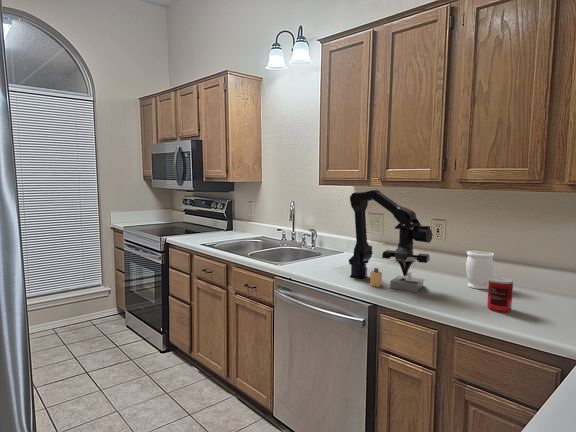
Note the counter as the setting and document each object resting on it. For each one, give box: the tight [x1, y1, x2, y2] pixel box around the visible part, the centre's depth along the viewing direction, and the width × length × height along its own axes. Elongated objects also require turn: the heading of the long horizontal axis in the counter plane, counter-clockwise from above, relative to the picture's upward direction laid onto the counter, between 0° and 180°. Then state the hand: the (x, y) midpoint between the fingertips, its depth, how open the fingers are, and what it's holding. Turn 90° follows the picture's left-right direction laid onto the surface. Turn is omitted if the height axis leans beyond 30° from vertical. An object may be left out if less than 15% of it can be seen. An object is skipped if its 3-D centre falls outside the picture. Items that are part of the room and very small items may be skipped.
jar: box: [465, 250, 495, 290], centre depth 173 cm, size 11×10×15 cm
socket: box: [389, 275, 424, 293], centre depth 172 cm, size 11×11×3 cm
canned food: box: [486, 276, 514, 314], centre depth 144 cm, size 8×8×11 cm
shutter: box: [404, 271, 425, 283], centre depth 170 cm, size 6×6×3 cm
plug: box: [369, 267, 383, 288], centre depth 174 cm, size 4×3×8 cm
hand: (405, 276), depth 173 cm, fingers closed
